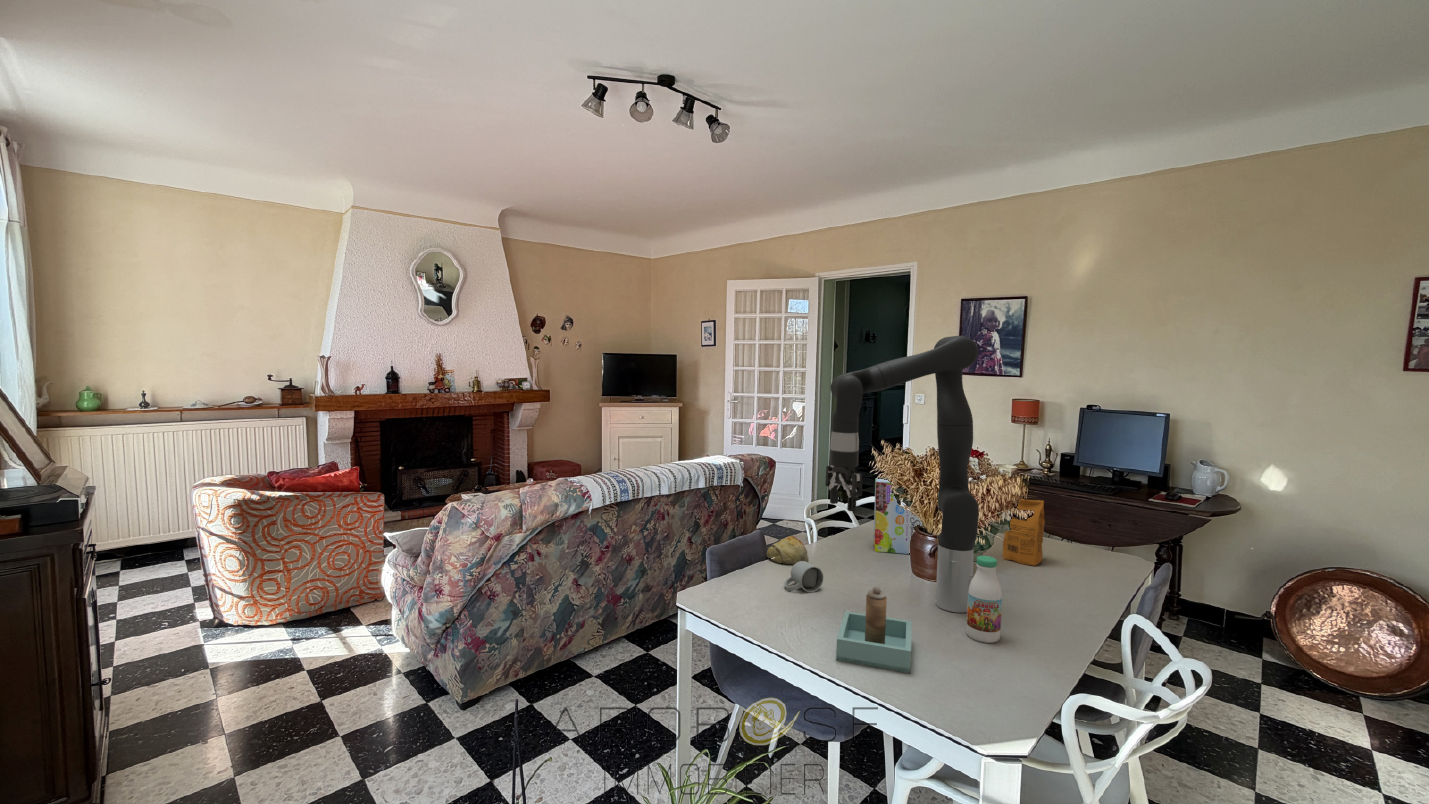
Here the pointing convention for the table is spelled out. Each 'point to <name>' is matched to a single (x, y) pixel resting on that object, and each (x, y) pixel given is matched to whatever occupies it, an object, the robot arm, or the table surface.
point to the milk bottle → (984, 602)
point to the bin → (875, 654)
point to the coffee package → (1025, 535)
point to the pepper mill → (875, 616)
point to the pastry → (788, 551)
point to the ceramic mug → (805, 577)
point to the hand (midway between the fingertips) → (842, 507)
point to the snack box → (891, 521)
